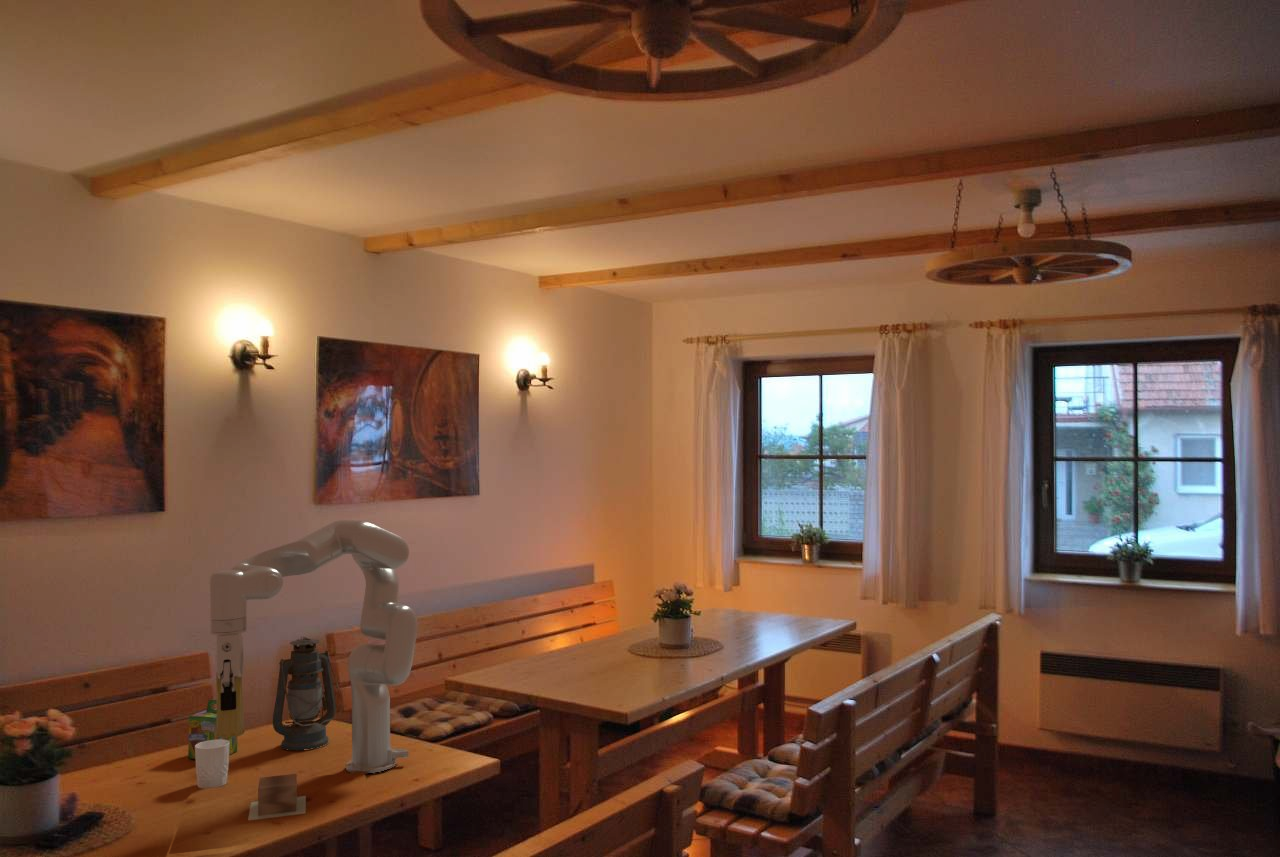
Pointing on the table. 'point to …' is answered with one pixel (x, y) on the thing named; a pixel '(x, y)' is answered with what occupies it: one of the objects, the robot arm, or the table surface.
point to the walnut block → (277, 794)
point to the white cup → (212, 763)
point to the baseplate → (299, 810)
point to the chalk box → (205, 729)
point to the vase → (229, 713)
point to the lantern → (305, 696)
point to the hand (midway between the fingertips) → (229, 705)
